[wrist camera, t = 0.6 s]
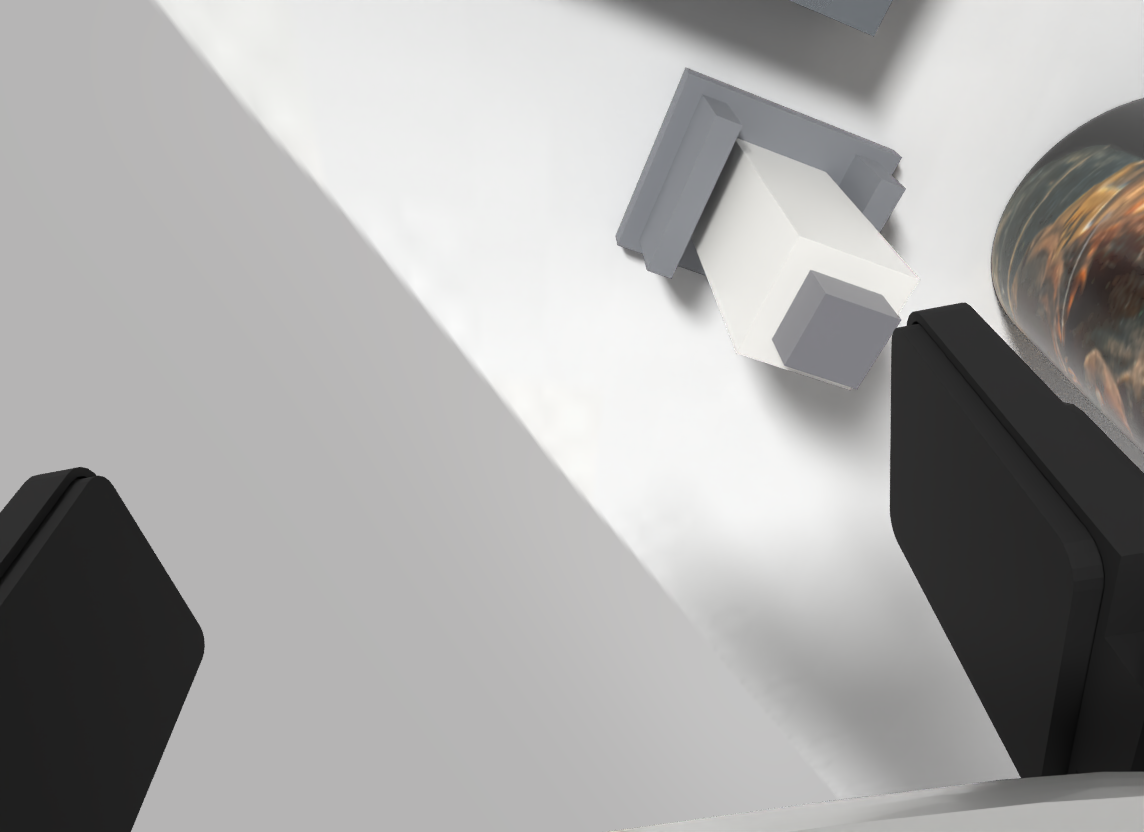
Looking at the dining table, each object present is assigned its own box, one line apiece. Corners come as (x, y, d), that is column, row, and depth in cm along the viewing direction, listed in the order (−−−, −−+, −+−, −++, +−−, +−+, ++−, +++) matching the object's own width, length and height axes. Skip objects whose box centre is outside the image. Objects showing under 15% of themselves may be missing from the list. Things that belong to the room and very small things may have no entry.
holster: (893, 150, 34) (931, 182, 31) (807, 302, 38) (833, 346, 34) (685, 67, 32) (702, 93, 29) (615, 235, 36) (623, 275, 32)
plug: (826, 172, 33) (941, 303, 24) (777, 262, 36) (866, 418, 26) (733, 136, 33) (814, 258, 23) (689, 231, 35) (746, 380, 25)
